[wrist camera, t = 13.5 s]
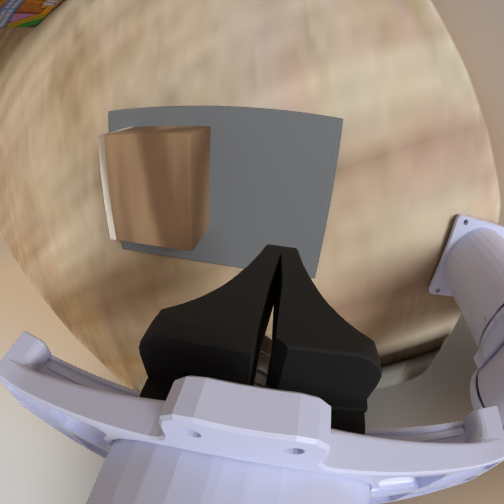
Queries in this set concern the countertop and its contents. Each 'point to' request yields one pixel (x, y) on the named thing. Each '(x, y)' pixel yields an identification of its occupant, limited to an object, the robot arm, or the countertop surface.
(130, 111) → the slate mat
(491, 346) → the robot arm
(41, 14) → the chalk box
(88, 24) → the countertop surface
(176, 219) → the beige rectangular block
